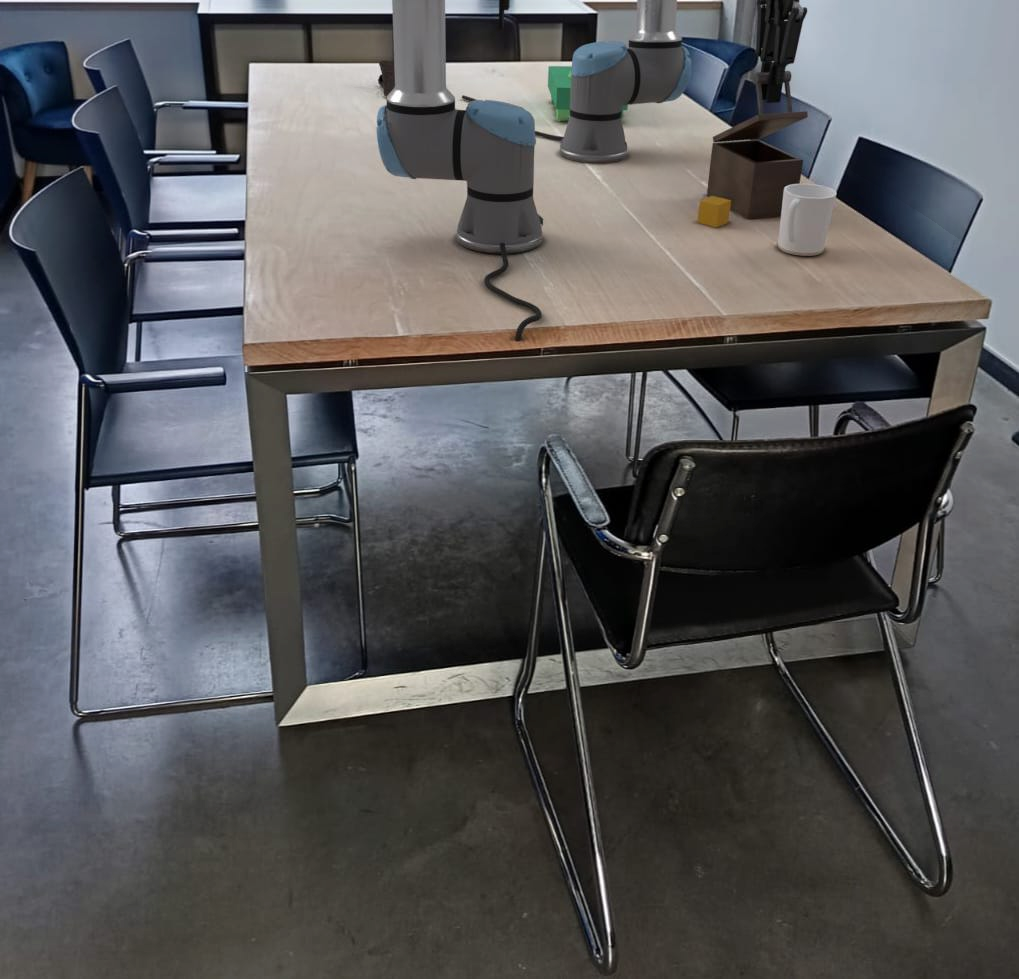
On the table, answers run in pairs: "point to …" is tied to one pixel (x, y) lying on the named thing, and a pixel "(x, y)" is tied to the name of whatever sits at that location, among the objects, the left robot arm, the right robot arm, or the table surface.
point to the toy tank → (562, 91)
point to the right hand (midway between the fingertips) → (768, 100)
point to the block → (714, 211)
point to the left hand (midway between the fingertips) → (468, 26)
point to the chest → (752, 176)
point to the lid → (763, 116)
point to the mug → (805, 218)
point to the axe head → (387, 76)
